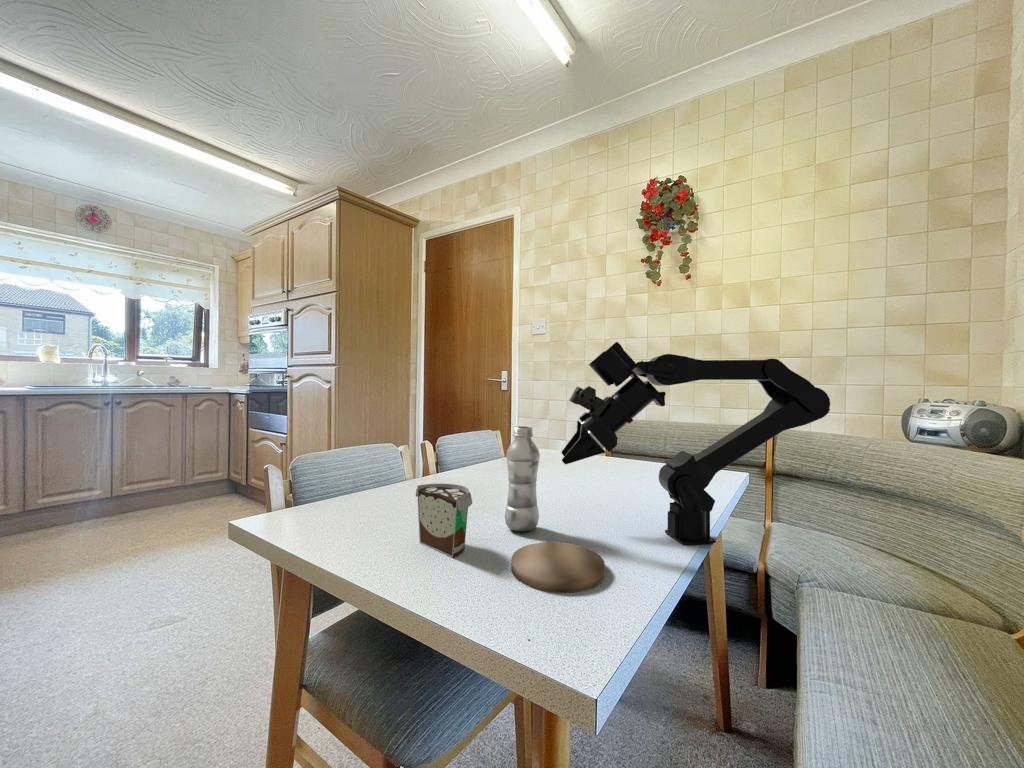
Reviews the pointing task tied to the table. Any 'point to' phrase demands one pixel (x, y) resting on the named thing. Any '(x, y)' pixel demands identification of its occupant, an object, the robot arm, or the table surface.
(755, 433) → the robot arm
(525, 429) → the plastic bottle
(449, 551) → the food container
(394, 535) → the table surface
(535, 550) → the walnut stand
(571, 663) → the table surface
